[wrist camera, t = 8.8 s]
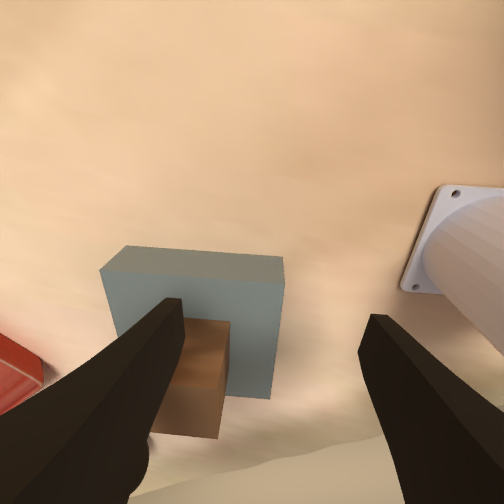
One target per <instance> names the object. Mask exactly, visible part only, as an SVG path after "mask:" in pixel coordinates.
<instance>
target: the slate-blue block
mask: <svg viewBox="0 0 504 504" xmlns="http://www.w3.org/2000/svg"><path fill="white" fill-rule="evenodd" d="M99 271H100V274H101V278H102V282H103V285H104V289H105V292H106V296H107V300H108V303H109V307H110V310H111V314H112V318H113V321H114V325H115V328H116V332H117V336H118V338H119V337H120V336H121V335H122V334H124V333H125V332H126V331H127V330H128V329H130V328H131V327H132V326H133V325H134V324H136V323H137V322H138V321H139V320H140V319H141V318H143V317H144V316H145V315H146V314H147V313H148V312H149V311H151V310H152V309H153V308H154V307H155V306H156V305H157V304H159V303H160V302H161V301H162V300H163V299H165V298H166V297H169V298H182V307H183V317H186V318H197V319H208V320H219V321H230V357H229V373H228V379H227V385H226V391H225V395H226V396H237V397H248V398H259V399H270V395H271V387H272V379H273V372H274V364H275V357H276V349H277V341H278V334H279V326H280V319H281V311H282V303H283V296H284V288H285V278H284V267H283V257H278V256H264V255H250V254H237V253H223V252H209V251H195V250H181V249H167V248H153V247H139V246H125V247H124V248H123V249H122V250H121V251H120V252H119V253H118V254H117V255H115V256H114V257H113V258H112V259H111V260H110V261H109V262H108V263H107V264H105V265H104V266H103V267H102V268H101V269H100V270H99Z"/></svg>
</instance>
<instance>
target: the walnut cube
mask: <svg viewBox="0 0 504 504" xmlns="http://www.w3.org/2000/svg"><path fill="white" fill-rule="evenodd" d="M184 327H185V336H186V337H185V341H184V345H183V348H182V352H181V355H180V359H179V362H178V365H177V367H176V369H175V372H174V374H173V377H172V379H171V382H170V384H169V386H168V389H167V391H166V394H165V396H164V398H163V401H162V403H161V406H160V408H159V410H158V413H157V415H156V418H155V420H154V422H153V425H152V428H151V430H150V432H153V433H163V434H172V435H182V436H192V437H201V438H211V439H218V434H219V428H220V422H221V416H222V410H223V404H224V398H225V391H226V385H227V379H228V373H229V357H230V321H219V320H208V319H197V318H186V317H184Z"/></svg>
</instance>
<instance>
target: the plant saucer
mask: <svg viewBox="0 0 504 504" xmlns="http://www.w3.org/2000/svg"><path fill="white" fill-rule="evenodd" d="M42 387H43V370H42V365H41V360H40V358H39V357H38V356H37V355H35V354H33V353H32V352H30V351H28V350H27V349H25V348H24V347H22V346H20V345H19V344H17V343H15V342H14V341H12V340H10V339H9V338H7V337H5V336H4V335H2V334H1V333H0V415H1V414H3V413H5V412H7V411H9V410H10V409H12V408H14V407H16V406H17V405H19V404H21V403H22V402H23V401H25V400H26V399H28V398H29V397H30V396H32V395H33V394H35V393H36V392H37V391H39V390H40V389H41V388H42Z"/></svg>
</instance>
